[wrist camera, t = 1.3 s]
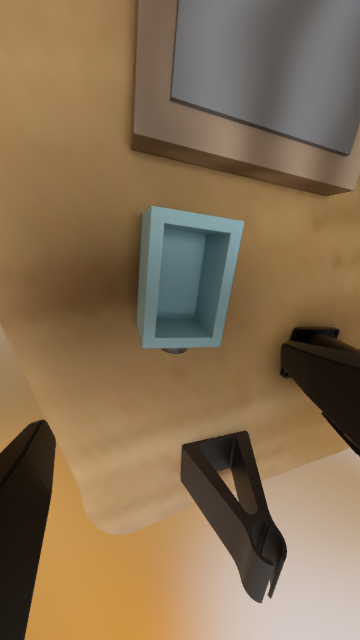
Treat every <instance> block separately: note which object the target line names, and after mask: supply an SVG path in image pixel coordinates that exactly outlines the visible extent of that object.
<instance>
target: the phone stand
mask: <svg viewBox="0 0 360 640" xmlns="http://www.w3.org/2000/svg"><path fill="white" fill-rule="evenodd" d="M227 468H230V469H231V471H232V475H233V479H234V483H235V487H236V492H237V496H238V500H239V502H238V501H237V499H236V498H235V497H234V495H233V494H232V492H231V491H230V490H229V488H228V487H227V486H226V484H225V483H224V481H223V480H222V479H221V477H220V476H219V475H218V473H217V472H216V471H220V470H223V469H227ZM181 482H182V483H183V485H184V486H185V488H186V489H187V491H188V492H189V494H190V495H191V496H192V498H193V499H194V501H195V502H196V504H197V505H198V507H199V508H200V510H201V511H202V513H203V514H204V516H205V517H206V519H207V520H208V522H209V523H210V525H211V526H212V528H213V529H214V530H215V532H216V533H217V535H218V536H219V538H220V539H221V541H222V542H223V544H224V545H225V547H226V548H227V550H228V551H229V553H230V554H231V556H232V557H233V559H234V561H235V563H236V565H237V568H238V570H239V574H240V577H241V581H242V584H243V587H244V588H245V591H246V592H247V594H248V595H249V596H250V597H251V598H252V599H253V600H255V601H256V602H259V603H262V600H263V597H264V594H265V591H266V588H267V585H268V582H269V579H270V590H269V593H268V596H269V597H270V598H271V597H272V595H273V592H274V589H275V587H276V584H277V581H278V578H279V575H280V572H281V570H282V567H283V564H284V561H285V559H286V555H287V549H286V543H285V540H284V538H283V536H282V534H281V532H280V531H279V530H278V528H277V527H276V525H275V523H274V522H273V520H272V518H271V515H270V513H269V510H268V506H267V502H266V499H265V495H264V491H263V487H262V484H261V480H260V476H259V472H258V468H257V465H256V461H255V457H254V453H253V449H252V446H251V442H250V438H249V434H248V432H247V431H242V432H237V433H233V434H228V435H224V436H219V437H217V438H216V439H215V438H210V439H206V440H201V441H197V442H192V443H188V444H184V445H183V451H182V471H181Z"/></svg>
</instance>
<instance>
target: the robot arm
mask: <svg viewBox="0 0 360 640" xmlns="http://www.w3.org/2000/svg"><path fill="white" fill-rule="evenodd" d="M338 334H339V330H338V329H336V328H296V329H295V330H294V332H293V335H292V338H291V341H290V342H286V343H283V344H282V346H281V364H282V366H283V368H282V371H281V376H282V377H283V378H293V379H294V381H295V382H296V383H297V384H298V386H299V387H300V388H301V389H302V390H303V392H304V393H305V394H306V395H307V396H308V397H309V398H310V399H311V400H312V401H313V402H314V403H315V404H316V405H317V406H318V407H319V408H320V409H321V410H322V411H323V412H322V413H321V414H322V415H323V416H324V417H325V418H326V419H327V421H328V423H329V424H330V425H331V426H332V427H333V428H334V429H335V430H336V432H337V433H338V434H339V435H340V436H341V437H342V438H343V439H344V441H345V442H346V443H347V444H348V445H349V446H350V447H351V448H352V450H353V451H354V452H355V453H356V454H358V455H359V456H360V350H359V349H357V348H355V347H352V346H350V345H348V344H346V343H344V342H342V341H339V340H337V337H338ZM55 447H56V440H55V436H54V434H53V432H52V431H51V429H50V427H49V425H48V423H47V422H46V421H45V420H39V421H36V422H33V423H31V424H29V425H28V426H27V427H26V428H25V429H24V430H23V431H22V432H21V433H20V434H19V435H18V436H17V437H16V438H15V439H14V440H13V441H12V442H11V443H10V444H9V445H8V446H7V447H6V448H5V449H4V450H3V451H2V452H1V453H0V640H24V639H25V633H26V628H27V623H28V618H29V612H30V607H31V602H32V596H33V591H34V586H35V580H36V575H37V569H38V564H39V559H40V553H41V548H42V543H43V538H44V532H45V527H46V522H47V516H48V511H49V506H50V499H51V494H52V484H53V472H54V460H55V459H54V458H55Z"/></svg>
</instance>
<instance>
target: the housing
mask: <svg viewBox="0 0 360 640" xmlns="http://www.w3.org/2000/svg"><path fill="white" fill-rule="evenodd" d="M243 226H244V221H239V220H233V219H227V218H222V217H216V216H210V215H204V214H198V213H192V212H186V211H180V210H174V209H169V208H163V207H157V206H151V207H150V208H149V209H147V210H146V211H145V212H144V213H143V214H142V225H141V244H140V264H139V283H138V302H137V321H136V324H137V328H138V332H139V336H140V340H141V344H142V348H143V349H146V348H161V349H162V350H163V351H165V352H168V353H173V354H179V353H184V352H186V351H187V348H192V347H220V345H221V340H222V335H223V329H224V324H225V319H226V314H227V309H228V303H229V298H230V293H231V288H232V283H233V277H234V272H235V267H236V262H237V257H238V251H239V246H240V241H241V236H242V231H243Z"/></svg>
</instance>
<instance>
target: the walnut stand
mask: <svg viewBox="0 0 360 640" xmlns="http://www.w3.org/2000/svg"><path fill="white" fill-rule="evenodd" d="M131 149H132V150H136V151H140V152H145V153H149V154H153V155H157V156H161V157H165V158H170V159H174V160H178V161H182V162H186V163H191V164H195V165H199V166H203V167H207V168H212V169H216V170H220V171H224V172H228V173H232V174H237V175H241V176H245V177H249V178H253V179H258V180H262V181H266V182H270V183H274V184H279V185H283V186H287V187H291V188H295V189H300V190H304V191H308V192H312V193H316V194H320V195H325V196H329V195H334V194H340V193H345V192H350V191H354V190H355V187H356V184H357V181H358V177H359V174H360V0H136V16H135V45H134V75H133V104H132V133H131Z"/></svg>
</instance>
